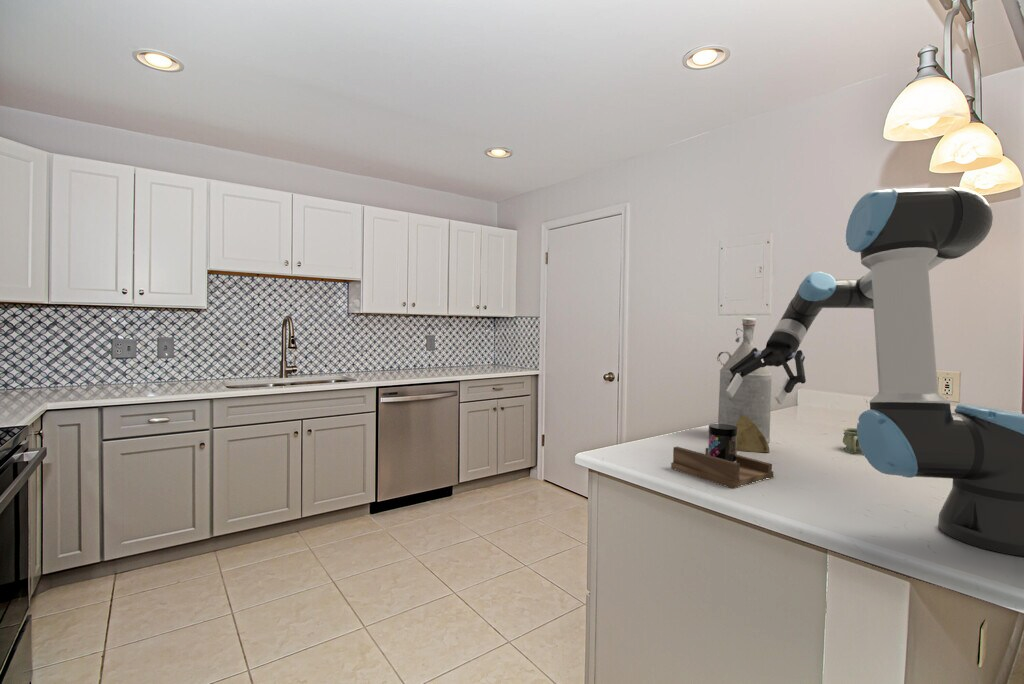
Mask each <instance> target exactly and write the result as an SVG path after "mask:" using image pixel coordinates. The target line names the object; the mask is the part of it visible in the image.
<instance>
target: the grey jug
mask: <svg viewBox="0 0 1024 684" xmlns="http://www.w3.org/2000/svg"><path fill="white" fill-rule="evenodd" d="M741 321H742V323H741V325H742V329H740V328H738V327H737V328H736V330H735V334H736V336H737V337H736V339H735V343H737V344H738V343H740V339H741V338H742V342H741V343H740V344H739V346H738V347H737V348H736V350H735V351H734V352H733V354H731V353H730V352H728V351H720V352H719V353H718V355H717V357H716V360H717V362H719V363H720V365H722V367H721V369H719V393H718V415H717V420H718V421H717V424H728V425H733V426H735V425H736V424H737V421H738V420H739V418H740V416H743V417H744V416H745V417H747V418H749V419H750V420H751V421H752V422H753V423H754V424H755V425H756V426H757V428H758V429H759V431H760V432H761V433H762V434H763V436H764V437H765V439H766V441H767V443H768V444H769V442H770V440H771V439H770V438H771V437H770V435H771V433H770V432H771V411H772V410H771V406H772V404H771V403H772V378H773V373H771V371H770V369H769V368H768V367H769V366H765V367H763V368H762V367H760V368H759V369H757V370H755V371H753V372H751V373H749V374H748V375H746V376H744V377H742V379H743V381H742V382H741V384H740V386H739V388H738V389H737V391H736V393H735V394H734V396H733V397H730V396H729V394H728V393H727V391H726V390H727V388H728V387H729V385H730V380H731V378H732V376H733V375H732V373H731V372H730V370H729V369H730V368H731V367H732V366H734V365H735V364H736V363H738V362H739V361H740V360H741V359H743V358H744V357H745V356H747V355H748V354H749V353H750V352H751V351H752V349H753V348H756V345H754V343H753V341H754V340H753V339H754V330H755V326H756V323H757V322H756V321H757V319H756V318H755V317H743V318H742V319H741ZM738 330H740V331H741V332H742V336H739V335H738ZM722 354H727V355H728V359H727V360H726V362H725V363H723V362H722V361H721V358H719V357H721V355H722ZM761 361H762V363H764V361H763V359H761ZM740 374H741V372H740Z"/></svg>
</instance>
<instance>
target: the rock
mask: <svg viewBox="0 0 1024 684" xmlns="http://www.w3.org/2000/svg"><path fill="white" fill-rule="evenodd" d="M735 426H736V427H737V451H741V452H752V453H753V452H755V453H770V451H771V450H770V446H769V442H768V443H767V441H766V439H765V437H764V436H763V434H762V433H761V432H760V431H759V429H758V428H757V426H756V425H755V424H754V423H753V422H752V421H751V420H750V419H749V418H747V417H745V416H744V417H743V416H740V418H739V420H738V421H737V424H736V425H735Z"/></svg>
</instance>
